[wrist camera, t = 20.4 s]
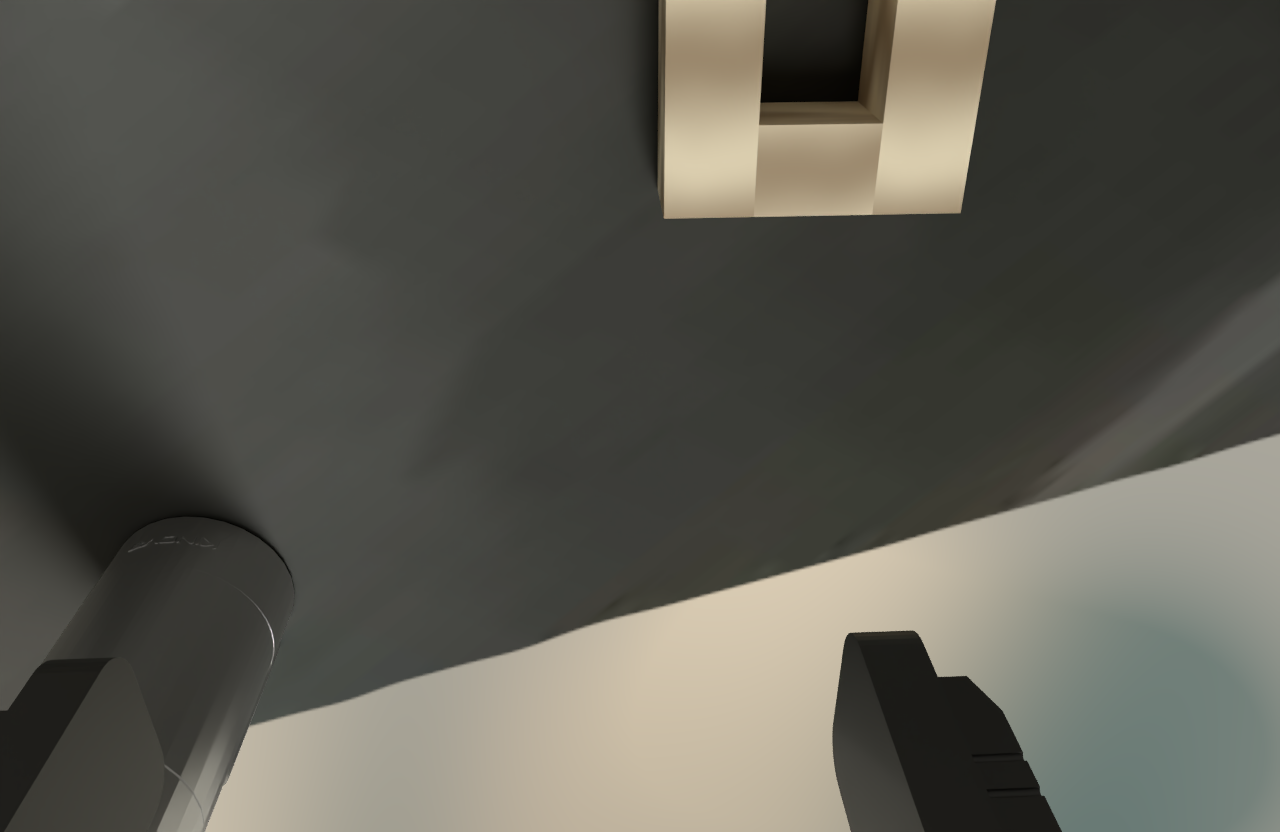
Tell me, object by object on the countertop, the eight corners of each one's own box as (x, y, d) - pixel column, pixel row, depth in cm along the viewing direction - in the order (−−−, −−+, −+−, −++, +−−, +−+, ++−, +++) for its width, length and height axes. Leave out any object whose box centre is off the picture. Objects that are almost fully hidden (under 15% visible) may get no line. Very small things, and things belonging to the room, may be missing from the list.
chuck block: (929, 184, 42) (960, 212, 39) (657, 189, 42) (664, 218, 38) (976, -130, 36) (1017, -129, 33) (659, -128, 36) (667, -127, 32)
